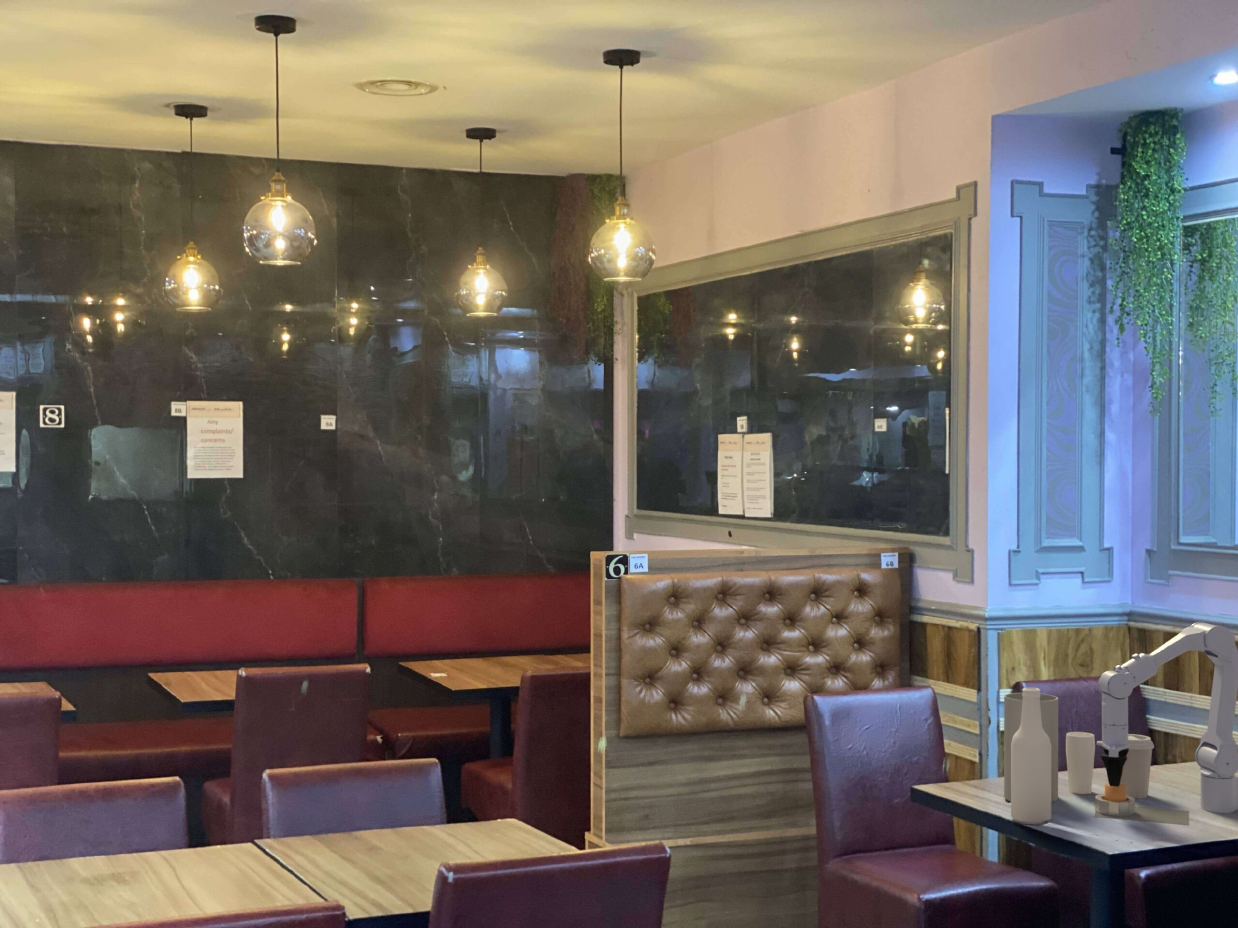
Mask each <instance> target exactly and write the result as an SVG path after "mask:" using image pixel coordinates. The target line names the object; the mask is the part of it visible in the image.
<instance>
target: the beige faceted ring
mask: <svg viewBox="0 0 1238 928" xmlns="http://www.w3.org/2000/svg"><path fill="white" fill-rule="evenodd" d="M1104 795H1105V793H1102V794H1097V795H1095V797H1094V811H1096V812H1098V813H1101V814H1105V815H1112V816H1130V815H1134V814H1135V806H1136V798H1132V797H1129V796H1127V797H1126V801H1124V802H1116V801H1108V800H1104Z"/></svg>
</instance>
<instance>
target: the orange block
mask: <svg viewBox="0 0 1238 928" xmlns="http://www.w3.org/2000/svg"><path fill="white" fill-rule="evenodd" d="M1104 794H1105V795H1104V800H1108V801H1116V802H1124V801H1126V797H1127V786H1126V785H1124V784H1120V785H1119V787H1116V786H1110V785H1109V782H1106V783H1104Z"/></svg>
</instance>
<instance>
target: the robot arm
mask: <svg viewBox="0 0 1238 928" xmlns="http://www.w3.org/2000/svg"><path fill="white" fill-rule="evenodd" d="M1188 651H1190V652H1191V651H1194V652H1202V653H1204V654H1205V655H1206V656H1207V657H1208V659H1209V660H1210V661H1211V662H1212V663H1213V664H1214V669H1213V670H1214V671H1213V678H1212V687H1211V688H1212V689H1211V696H1210V703H1209V704H1210V705H1209V713H1208V722H1207V728H1206V729H1207V731H1206V732H1204V733H1203V734H1202V735H1201V737H1200V743H1199V745H1198V746H1197V749H1196V750H1195V753H1194V759H1195V762H1196V763H1197V765H1198V766H1199V767H1200V809H1201V810H1202V811H1206V812H1210V813H1219V814H1228V813H1229V814H1230V813H1233V812H1235V811H1237V810H1238V776H1237V775H1235V774H1237V772H1238V743H1237V742H1236V740H1235V738H1234V736H1233V733H1234V732H1233V731H1234V725H1235V715H1236V708H1237V707H1236V706H1237V698H1238V648H1237V645H1236V636H1235V635H1234V634H1233V633H1232V632H1231V631H1230V630H1229V629H1228V628H1226V627H1225V626H1222V625H1216V624H1210V623H1208V622H1204V621H1197V622H1194V623H1193V624H1191V625H1190V626H1187V627H1185V628H1183V630H1181V631H1180V633H1178V634H1176V635H1175V636H1174V637H1172V638H1171V639H1169V640H1168V641H1166V642H1165V643H1164V644H1162V645H1160V646H1159V647H1157V648H1156V649H1155V650H1153V651H1151V652H1150V653H1149V654H1147V653H1143V652H1141V653H1134V654H1132V655H1131V659H1129V660H1127V661H1126V662H1124V663H1122V664H1121V665H1116V666H1115V667H1114V670H1107V671H1105V672H1103V673H1102V674H1101V675H1100V677H1099V679H1098V682H1097V681H1096V687H1097V688H1098V690H1099V692H1100V693H1101V740H1096V745H1097V746H1101V747H1103V749H1102V750H1103V752H1104V753H1101V754H1100V759H1101V760H1102V763H1103V764H1104V768H1105V770H1106V775H1107V783H1109V785H1110V786H1116V787H1119V785H1120V781H1121V777H1122V771H1123V766H1124V764H1125V762H1126V760H1127V757H1126V755H1127V753H1128V752H1129V748H1128V747H1129V743H1128V734H1129V697H1130V696H1131V694H1132V693H1133V691H1134V688H1136V687H1138V686H1139V685H1141V684H1142V683H1144V682H1146V681H1148V680H1149V679H1151V678H1152V677H1154V676H1156V675H1157V674H1158V669H1159V667H1160V666H1161V665H1164V664H1166V663H1167V662H1169V661H1171V660H1173V659H1175V658H1177V657H1179V656H1180V655H1182V654H1184V653H1186V652H1188Z"/></svg>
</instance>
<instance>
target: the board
mask: <svg viewBox="0 0 1238 928" xmlns="http://www.w3.org/2000/svg"><path fill="white" fill-rule="evenodd" d="M1094 811H1095V810H1094ZM1189 813H1190V811H1189V810H1184V809H1174V808H1173V809H1172V808H1160V807H1148V806H1137V805H1135V814H1134V815H1130V816H1112V815H1105V814H1101V813H1098V812H1096V811H1095V812H1094V816H1093V817H1094V818H1104V819H1113V820H1114V819H1115V820H1125V821H1134V822H1135V821H1138V822H1145V823H1146V822H1149V823H1160V824H1169V825H1170V824H1172V825H1183V826H1189V824H1190V823H1189V822H1190V821H1189V818H1190V814H1189Z"/></svg>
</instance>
